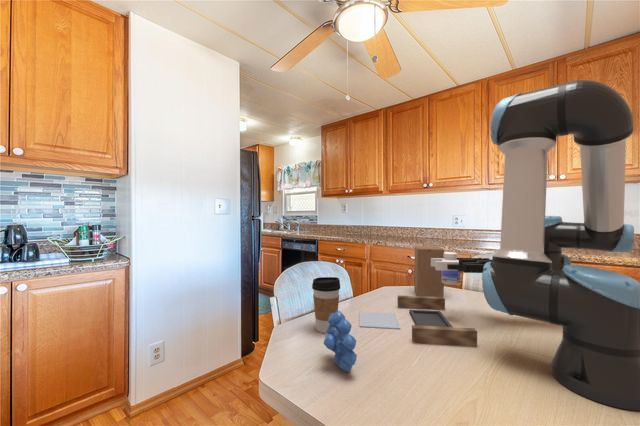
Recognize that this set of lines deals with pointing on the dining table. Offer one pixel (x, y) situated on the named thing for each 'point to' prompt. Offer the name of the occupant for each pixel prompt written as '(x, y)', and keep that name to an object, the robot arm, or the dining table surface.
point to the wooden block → (428, 272)
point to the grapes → (341, 341)
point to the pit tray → (429, 318)
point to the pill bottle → (450, 276)
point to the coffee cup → (325, 300)
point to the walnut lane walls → (436, 333)
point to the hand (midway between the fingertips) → (433, 264)
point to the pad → (378, 320)
